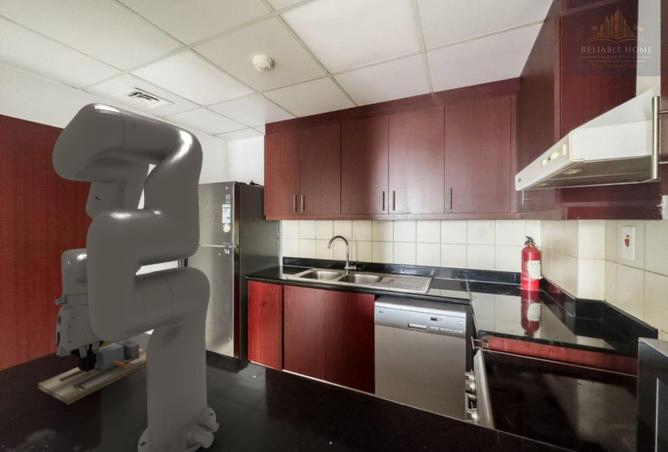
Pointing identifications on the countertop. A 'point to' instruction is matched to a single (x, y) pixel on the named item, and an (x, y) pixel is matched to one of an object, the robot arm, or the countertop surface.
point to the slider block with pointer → (110, 356)
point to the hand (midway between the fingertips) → (87, 369)
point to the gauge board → (93, 376)
